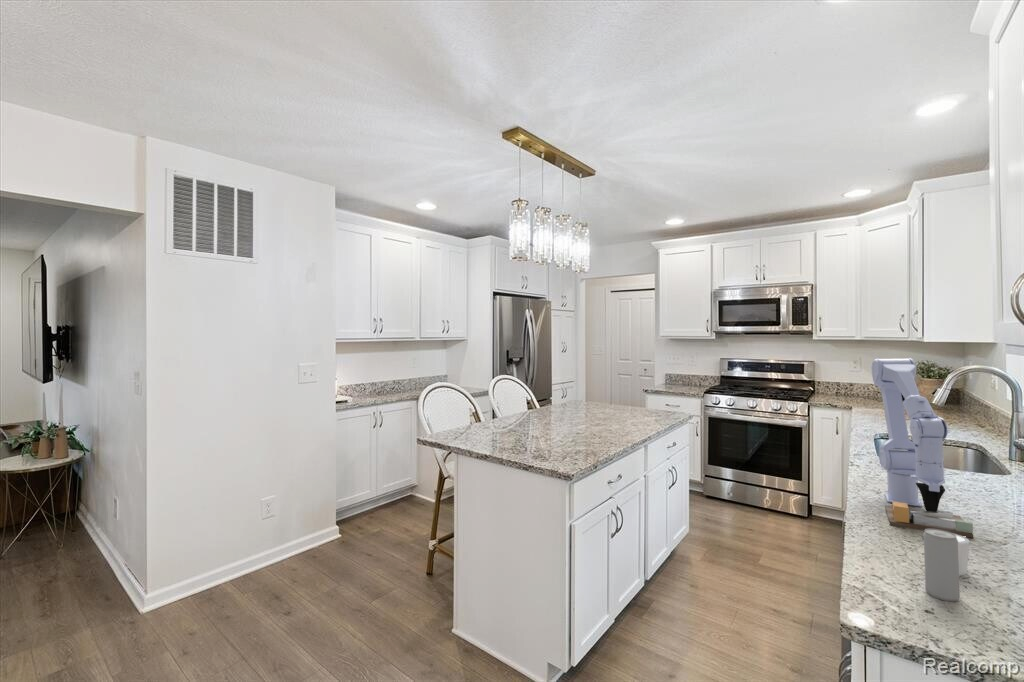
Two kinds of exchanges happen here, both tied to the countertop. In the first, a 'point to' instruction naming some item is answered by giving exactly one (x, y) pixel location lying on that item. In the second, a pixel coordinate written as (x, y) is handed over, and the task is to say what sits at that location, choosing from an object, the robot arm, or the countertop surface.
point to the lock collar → (900, 512)
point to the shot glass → (963, 554)
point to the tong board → (933, 523)
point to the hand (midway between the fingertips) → (931, 511)
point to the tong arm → (935, 514)
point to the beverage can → (941, 564)
